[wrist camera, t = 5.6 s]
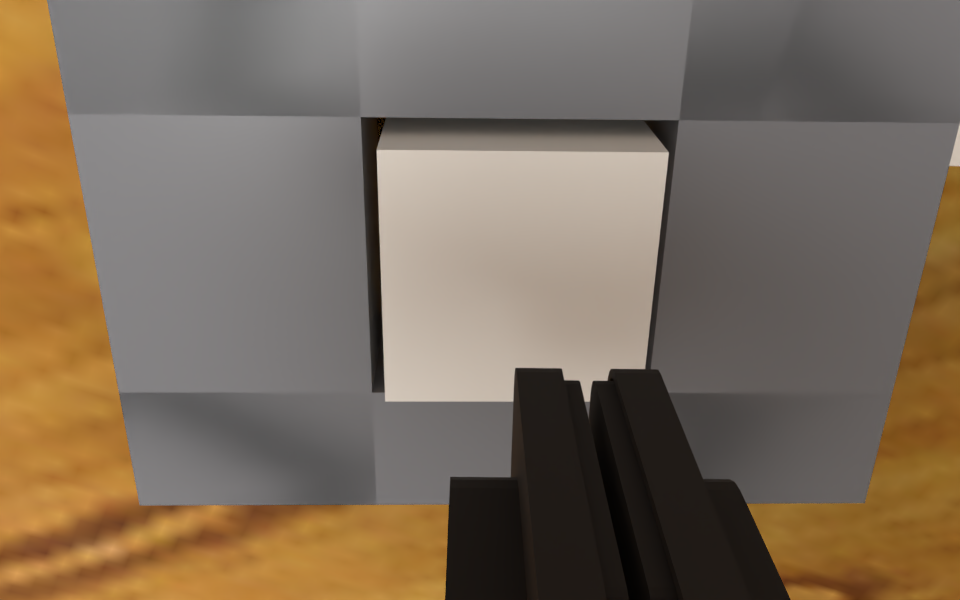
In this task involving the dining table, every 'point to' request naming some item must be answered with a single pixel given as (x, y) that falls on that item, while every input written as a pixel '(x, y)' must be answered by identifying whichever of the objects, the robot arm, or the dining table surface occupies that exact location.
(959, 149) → the pattern card
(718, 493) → the robot arm
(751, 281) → the button board
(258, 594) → the dining table surface
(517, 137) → the button
